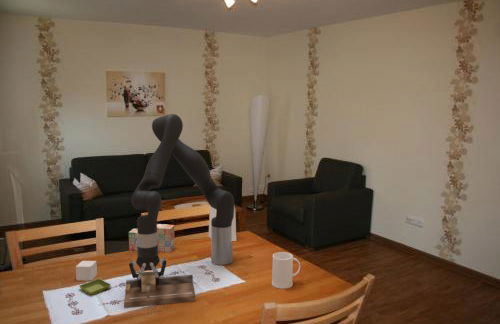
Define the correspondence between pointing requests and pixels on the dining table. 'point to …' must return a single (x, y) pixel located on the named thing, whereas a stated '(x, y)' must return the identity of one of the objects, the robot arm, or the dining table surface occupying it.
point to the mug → (283, 270)
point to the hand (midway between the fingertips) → (148, 286)
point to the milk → (213, 214)
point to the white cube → (86, 270)
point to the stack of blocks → (164, 238)
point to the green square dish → (95, 286)
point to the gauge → (148, 282)
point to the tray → (160, 292)
